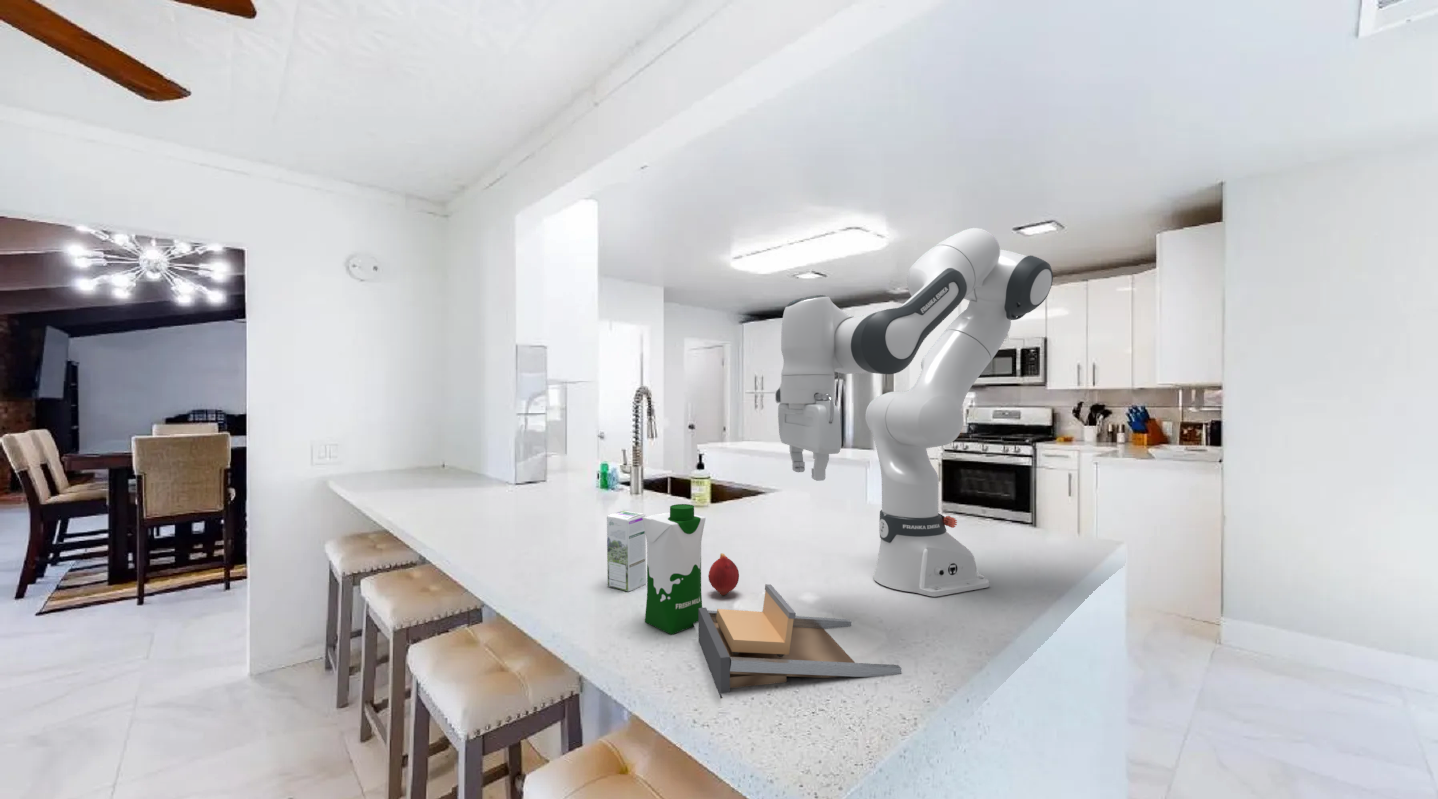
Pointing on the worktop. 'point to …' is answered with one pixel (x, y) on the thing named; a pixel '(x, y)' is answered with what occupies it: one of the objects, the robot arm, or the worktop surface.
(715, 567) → the onion
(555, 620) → the worktop surface
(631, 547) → the syrup box
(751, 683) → the dock
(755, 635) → the cart
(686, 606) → the milk carton
